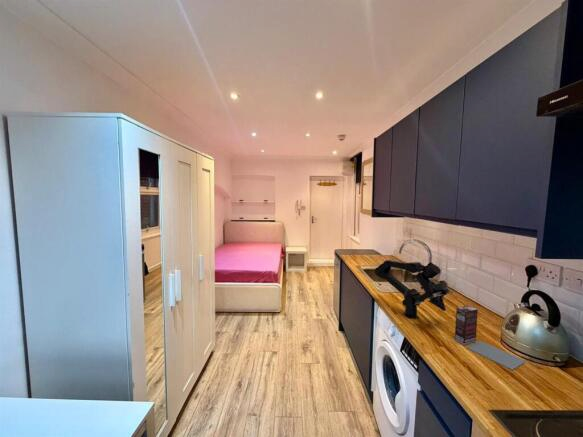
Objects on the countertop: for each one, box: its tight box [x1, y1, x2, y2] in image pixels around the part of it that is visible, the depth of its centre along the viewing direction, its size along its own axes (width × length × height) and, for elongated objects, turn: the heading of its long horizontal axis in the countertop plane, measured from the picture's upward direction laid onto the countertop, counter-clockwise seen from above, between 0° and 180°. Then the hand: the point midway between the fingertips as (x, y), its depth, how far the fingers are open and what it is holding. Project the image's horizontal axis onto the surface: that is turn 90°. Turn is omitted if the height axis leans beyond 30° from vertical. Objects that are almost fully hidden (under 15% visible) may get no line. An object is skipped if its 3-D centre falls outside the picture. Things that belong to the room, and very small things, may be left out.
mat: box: [465, 340, 527, 371], centre depth 109 cm, size 17×12×1 cm
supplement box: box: [454, 305, 479, 346], centre depth 120 cm, size 9×5×16 cm, turn 111°
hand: (444, 310), depth 128 cm, fingers closed
